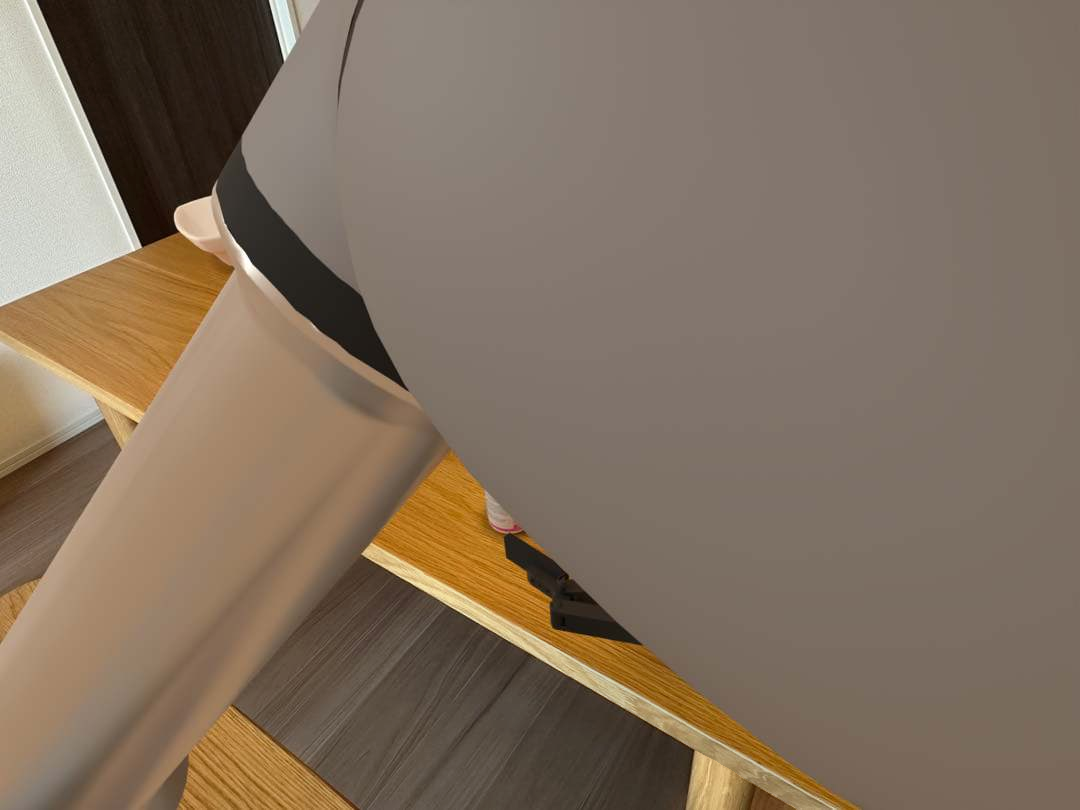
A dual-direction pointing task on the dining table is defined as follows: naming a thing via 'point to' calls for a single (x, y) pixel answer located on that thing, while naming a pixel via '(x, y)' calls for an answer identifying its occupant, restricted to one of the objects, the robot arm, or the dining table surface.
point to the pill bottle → (500, 517)
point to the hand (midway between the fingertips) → (557, 499)
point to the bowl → (201, 227)
